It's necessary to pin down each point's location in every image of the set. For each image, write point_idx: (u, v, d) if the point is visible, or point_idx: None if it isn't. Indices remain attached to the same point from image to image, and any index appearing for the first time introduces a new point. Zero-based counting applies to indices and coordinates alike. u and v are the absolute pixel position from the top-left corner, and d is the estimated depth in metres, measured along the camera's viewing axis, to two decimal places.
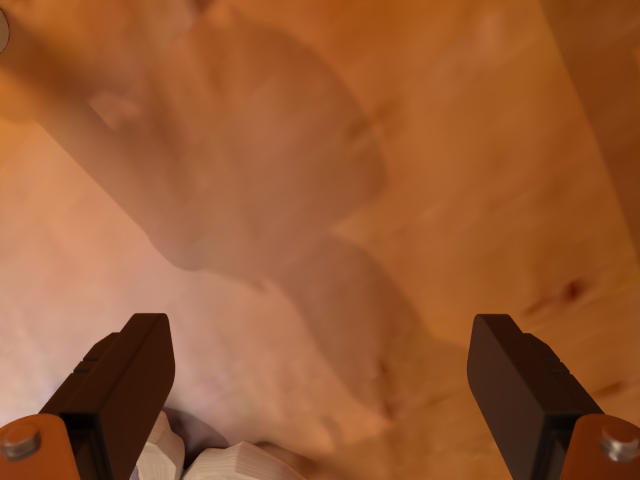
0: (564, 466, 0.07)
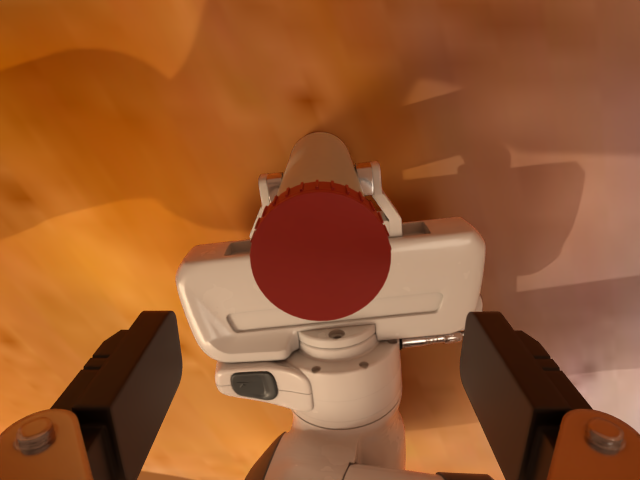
0: (552, 461, 0.07)
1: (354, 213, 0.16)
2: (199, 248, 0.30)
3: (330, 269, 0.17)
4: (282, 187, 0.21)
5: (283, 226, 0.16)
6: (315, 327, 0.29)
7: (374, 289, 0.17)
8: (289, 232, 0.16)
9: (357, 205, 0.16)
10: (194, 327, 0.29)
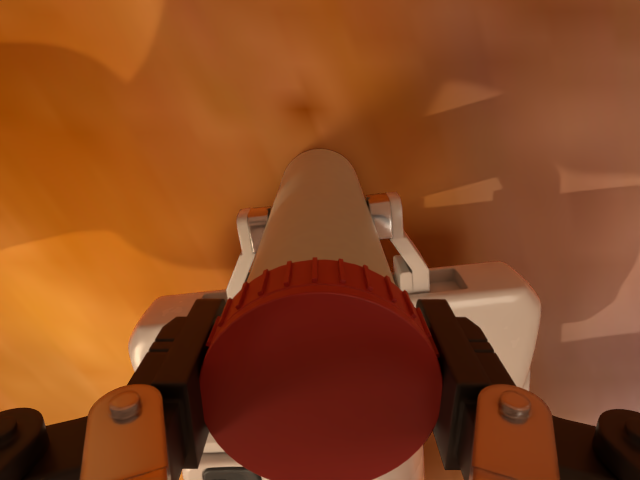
0: (475, 440, 0.07)
1: (381, 327, 0.09)
2: (163, 302, 0.23)
3: (337, 414, 0.10)
4: (263, 247, 0.14)
5: (254, 348, 0.09)
6: None
7: (412, 444, 0.10)
8: (265, 357, 0.09)
9: (387, 314, 0.09)
10: None
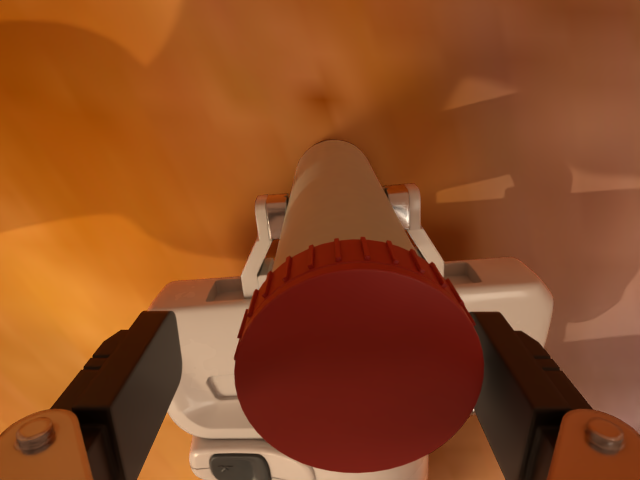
0: (552, 462, 0.07)
1: (317, 297, 0.09)
2: (175, 287, 0.23)
3: (383, 377, 0.09)
4: (291, 228, 0.14)
5: (271, 396, 0.09)
6: None
7: (466, 339, 0.09)
8: (285, 394, 0.09)
9: (307, 286, 0.08)
10: None
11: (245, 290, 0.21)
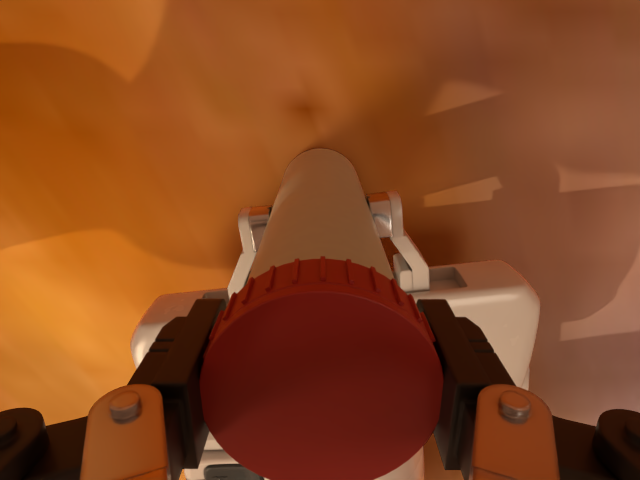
0: (475, 440, 0.07)
1: (274, 320, 0.09)
2: (164, 300, 0.23)
3: (345, 395, 0.09)
4: (264, 244, 0.14)
5: (236, 416, 0.10)
6: None
7: (424, 356, 0.09)
8: (250, 414, 0.10)
9: (262, 309, 0.09)
10: None
11: None
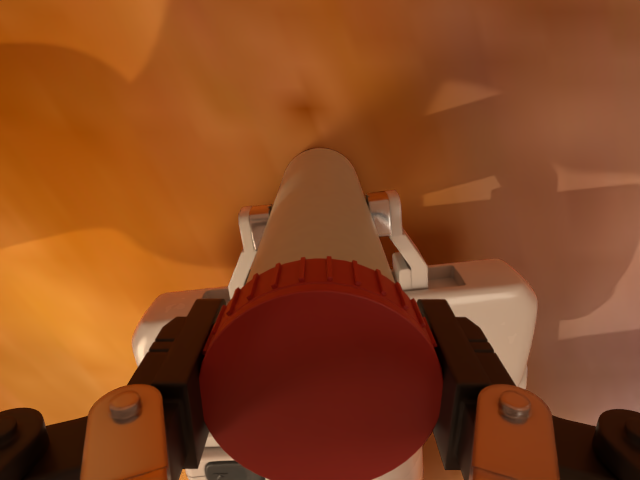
0: (475, 440, 0.07)
1: (217, 391, 0.09)
2: (166, 299, 0.23)
3: (328, 380, 0.09)
4: (265, 241, 0.14)
5: (295, 463, 0.10)
6: None
7: (327, 302, 0.09)
8: (299, 454, 0.10)
9: (203, 393, 0.09)
10: None
11: None
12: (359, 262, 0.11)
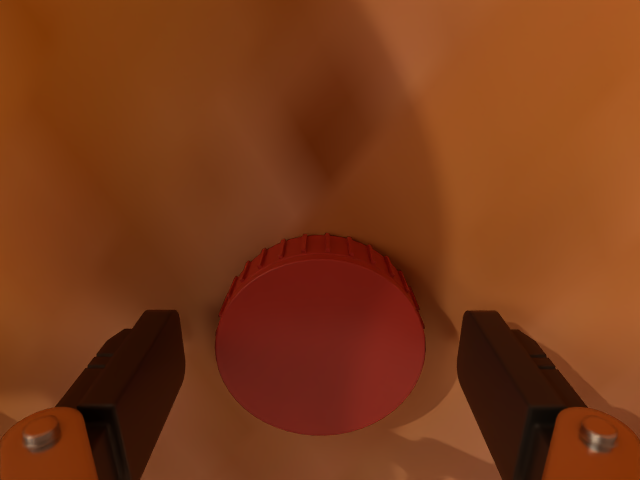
0: (547, 460, 0.07)
1: (232, 347, 0.11)
2: None
3: (326, 338, 0.11)
4: None
5: (298, 412, 0.12)
6: None
7: (325, 269, 0.10)
8: (302, 403, 0.12)
9: (219, 349, 0.11)
10: None
11: None
12: None
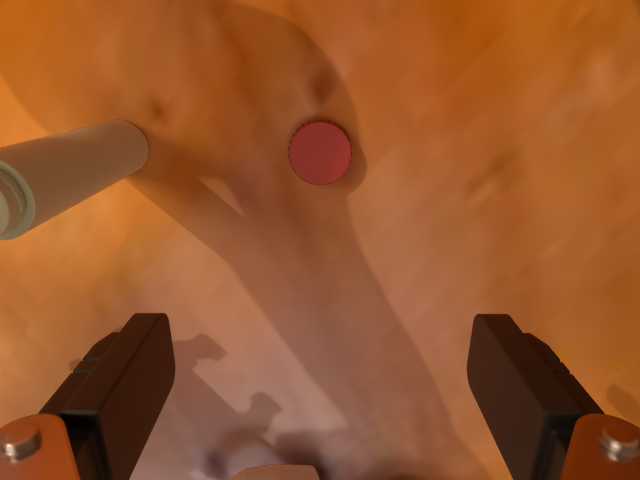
0: (564, 466, 0.07)
1: (294, 151, 0.37)
2: None
3: (321, 148, 0.37)
4: (25, 145, 0.25)
5: (313, 175, 0.38)
6: None
7: (321, 125, 0.36)
8: (314, 172, 0.38)
9: (290, 152, 0.37)
10: None
11: None
12: (36, 193, 0.23)
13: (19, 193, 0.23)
